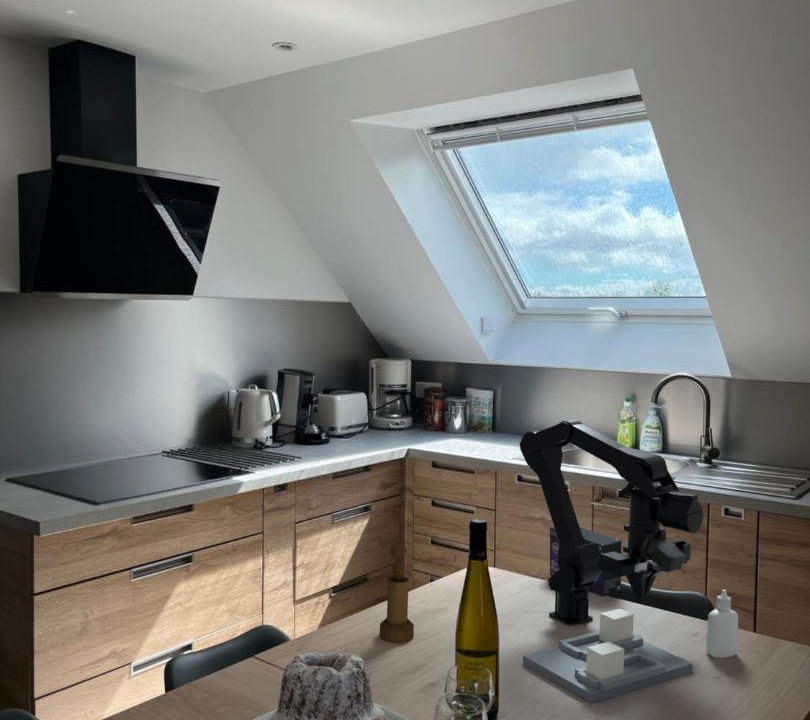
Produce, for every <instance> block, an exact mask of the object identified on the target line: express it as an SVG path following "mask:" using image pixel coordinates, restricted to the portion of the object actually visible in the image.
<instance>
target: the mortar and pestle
mask: <svg viewBox="0 0 810 720" xmlns="http://www.w3.org/2000/svg"><path fill="white" fill-rule="evenodd" d="M390 554H391V556H392V558H393V560H394V562H393V563H394V564H393V566H392V573H393V575H391V576H388V578H387V602H386V604H387V605H386V607H387V608H386V618H384V620H382V621H381V622H380V625H379V637H380V638H381V640H383V641H385V642H389V643H395V644H397V643H398V644H400V643H408V642H410V641H412V640H413V639H414V636H415V635H414V634H415V632H414V631H415V630H414V629H415V626H414V623H413V621H412V622H411V620H410V619H409V618H408V610H409V609H408V608H409V584H410V583H409V581H410V579H409V578H408V577H406V576H403V575H404V571H405V566H404V564H403V560H404V558H405V556H406V554H407V547H406V545H405V544H404V543H403V542H400V541H399V542H397V541H396V542H394V543H393V544H392V545H391V547H390Z"/></svg>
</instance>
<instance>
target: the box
mask: <svg viewBox="0 0 810 720" xmlns="http://www.w3.org/2000/svg"><path fill="white" fill-rule="evenodd" d="M579 527H580V526H579ZM580 530H581V533H582V535H583V537H584V539H585V540H586V541H587V542H588V543H589V544H591V543H596V545H597V547H598V552H599V555H601V554H604V553H609V552H617V553H620V554H622V550H623V546H622V545H623V544H622V543H623V541H622V540H621V539H619V538H618V539H617V538H614V537H611V536H607V535H605V534H602V533H599V532H595V531H592V530H590V529H586V528H583V527H580ZM558 549H559V541H558V537H557V534H556V531H555V528H554V526H552V527H549V576H550V577H551V576H552V575H554V574H555V573H556V572H557V571H558V570H559V567H558V561H557V556H558ZM586 590H587V591H588V592H590V593H593V594H595V595H598V596H600V597H605V596H610V595H612V594H616V593H617V594H618V593H621V592H622V576H616V575H613V574H611V573H608V572H605V571H603V570H602V572H601V574H600V576H599V578H598V579H597V580H596V581H595V583H594V586H593V587H589V588H586Z"/></svg>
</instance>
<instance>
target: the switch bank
mask: <svg viewBox="0 0 810 720" xmlns="http://www.w3.org/2000/svg"><path fill="white" fill-rule="evenodd" d="M599 636H600V630H596V631H593V632H588V633H585V634H580V635H578V636H573V637H568V638H565V639H561V640H559V641H558V646H554V647H552V648H551V647H550V648H548V649H544V650H540V651H537V652H531V653H528V654H524V655H522V665H524V666H526V667H527V668H529V669H531V670H532V671H535V672H536V673H538V674H540V675H541V676H543V677H545V678H546V679H548V680H551V682H554V683H555V684H557V685H559V686H560V687H563V688H564V689H566V690H568V691H570V692H572V693H573V694H575V695H577V696H578V697H580V698H582V699H584V700H585V701H587V702H589V703H591V704H595V703H597V702H601V701H604V700H606V699H607V700H608V699H610V698H613V697H616V696H619V695H623V694H626V693H630V692H631V691H632V692H633V691H635V690H640V689H642V688H644V687H648V686H651V685H654V684H655V685H656V684H658V683H661V682H664V681H667V680H671V679H674V678H677V677H681V676H683V675H686V674H690V673H693V670H694V668H693V667H694V663H693V662H691V661H689V660H686V659H684V658H682V657H680V656H677V655H675V654H674V653H671V652H669V651H666V650H664V649H662V648H660V647H657V646H656V645H654V644H651V643H649V642H647V641H644V638H643V637H641V636H642V635H641V634H638V633H636V632H634V631H633V638H630V639H626V640H622V641H618V642H614V643H613V644H615V645H617V646H619V647H621V648H623V649H624V669H623V675H620V676H617V677H614V678H610V679H607V680H604V681H600V680H598V679H597V678H595V677H593V676H591V675H589V674H587V673H586V663H587V647H591V646H594V645H598V644H602V643H605V642H603V641H601V640H599Z"/></svg>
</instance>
